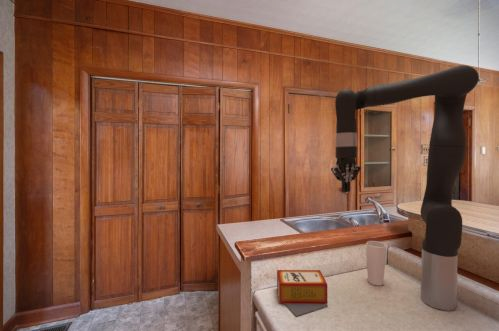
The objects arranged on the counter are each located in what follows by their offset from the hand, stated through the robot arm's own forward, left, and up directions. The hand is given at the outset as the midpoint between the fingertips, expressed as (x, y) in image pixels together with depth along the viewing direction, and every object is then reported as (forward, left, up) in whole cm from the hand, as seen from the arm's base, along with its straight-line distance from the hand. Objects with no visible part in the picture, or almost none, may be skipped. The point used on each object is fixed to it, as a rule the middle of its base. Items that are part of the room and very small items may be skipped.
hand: (346, 192), depth 92 cm
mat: (+22, +3, -35) cm, 41 cm away
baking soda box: (+13, +4, -31) cm, 34 cm away
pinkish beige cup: (-10, +5, -35) cm, 37 cm away
